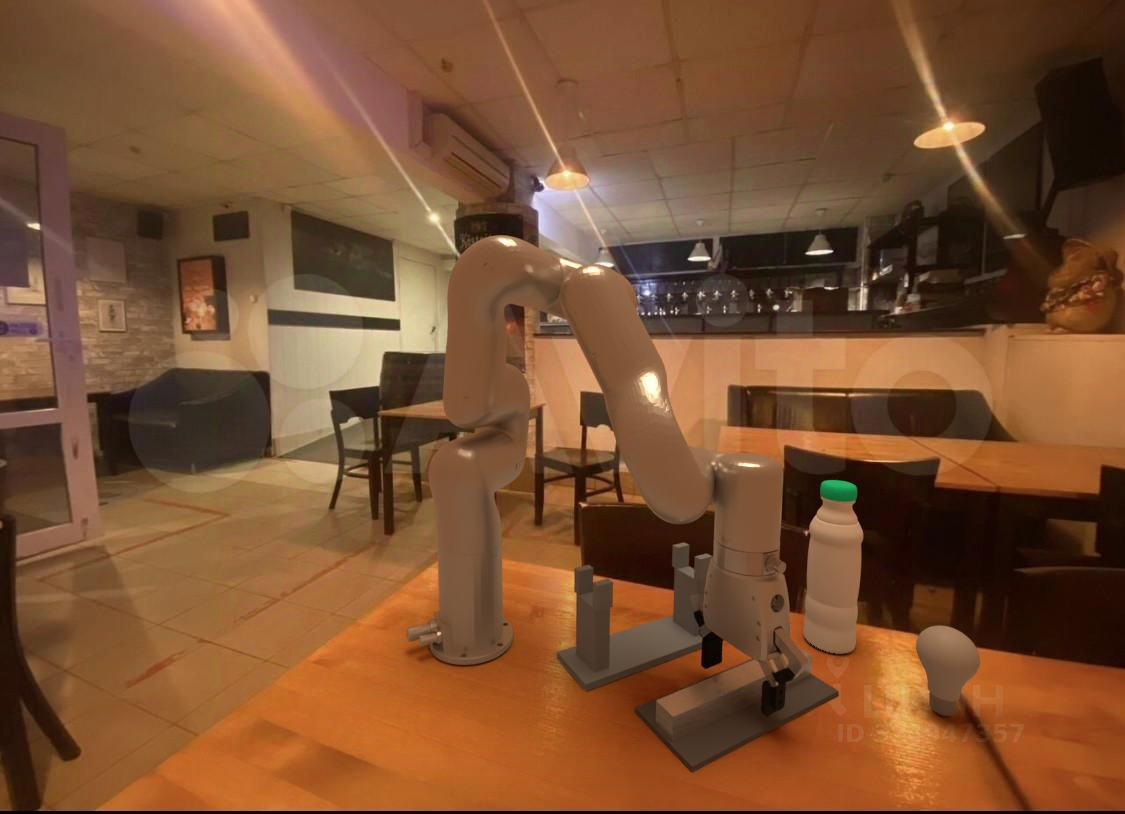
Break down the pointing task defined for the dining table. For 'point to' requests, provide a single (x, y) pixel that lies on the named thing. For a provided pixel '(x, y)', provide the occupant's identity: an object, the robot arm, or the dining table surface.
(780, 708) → the robot arm
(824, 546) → the water bottle
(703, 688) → the rail
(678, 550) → the rack
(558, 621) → the dining table surface
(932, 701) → the lightbulb
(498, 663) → the dining table surface
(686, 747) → the mat
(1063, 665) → the dining table surface
